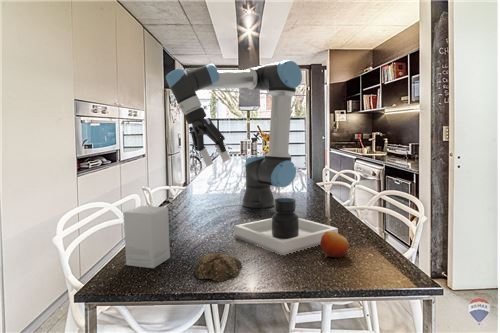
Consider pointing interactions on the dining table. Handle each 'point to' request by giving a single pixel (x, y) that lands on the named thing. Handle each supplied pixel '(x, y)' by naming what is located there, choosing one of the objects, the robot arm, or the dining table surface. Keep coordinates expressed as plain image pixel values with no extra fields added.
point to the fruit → (334, 244)
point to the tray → (263, 237)
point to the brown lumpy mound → (217, 267)
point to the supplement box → (146, 236)
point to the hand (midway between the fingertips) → (218, 162)
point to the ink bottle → (285, 219)
